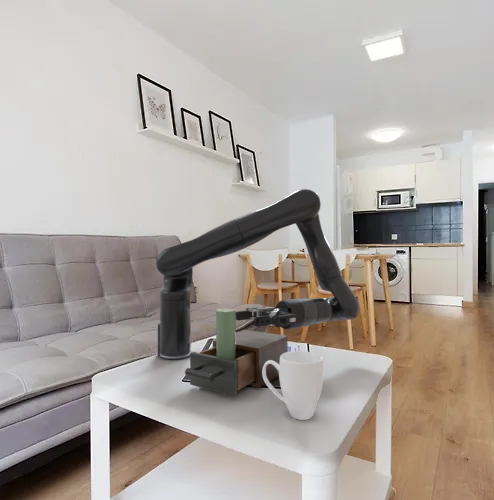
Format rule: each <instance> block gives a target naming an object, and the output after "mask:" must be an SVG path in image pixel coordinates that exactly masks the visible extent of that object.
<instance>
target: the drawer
mask: <svg viewBox="0 0 494 500" xmlns="http://www.w3.org/2000/svg"><path fill="white" fill-rule="evenodd" d="M184 375H185V376H186V377H189V383H190V384H189V385H190V386H194V387H197V388H202V389H205V390H208V391H213V392H216V393H220V394H223V395H227V396H231V397H234V398H235V397H236V396H238V391H240V390H241V389H243V388H245V387H247V386H249V385H248V384H250V383H252V382H254V381H255V380H256V352H255V351H250V350H244V349H239V348H236V359H235V360H231V359H226V358H221V357H216V346H215V347H213V346H212V347H209V348H207V349H204V350H202V351H199V352H196V351H191V353H190V356H189V367H187V368H185V371H184Z"/></svg>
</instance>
